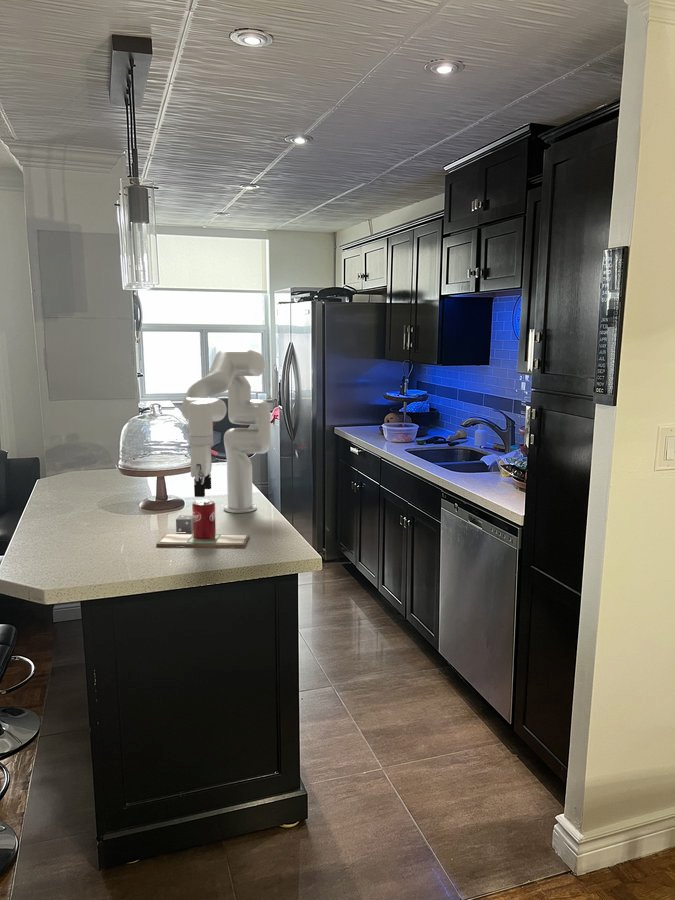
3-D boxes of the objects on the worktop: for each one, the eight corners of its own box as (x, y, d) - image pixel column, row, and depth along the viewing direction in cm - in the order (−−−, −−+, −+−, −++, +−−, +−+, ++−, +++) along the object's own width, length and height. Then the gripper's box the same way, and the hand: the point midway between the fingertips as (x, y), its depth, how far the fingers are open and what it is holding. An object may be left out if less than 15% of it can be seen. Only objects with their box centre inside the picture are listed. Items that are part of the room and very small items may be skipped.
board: (165, 536, 223) (165, 533, 223) (249, 537, 222) (249, 534, 222) (156, 546, 212) (156, 543, 212) (244, 547, 212) (244, 544, 211)
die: (180, 529, 232) (179, 515, 231) (194, 529, 232) (194, 515, 231) (176, 533, 227) (175, 519, 226) (191, 533, 227) (190, 519, 226)
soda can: (194, 542, 213) (193, 505, 211) (192, 535, 220) (191, 500, 218) (217, 540, 215) (216, 504, 213) (214, 534, 222) (213, 499, 220)
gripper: (195, 435, 220) (197, 486, 224) (182, 445, 203) (185, 499, 207) (218, 435, 220) (219, 486, 223) (207, 445, 203) (209, 500, 206)
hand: (203, 492), depth 215 cm, fingers open, 9 cm apart
